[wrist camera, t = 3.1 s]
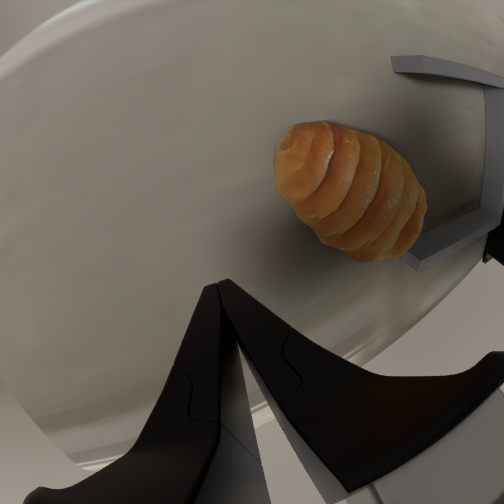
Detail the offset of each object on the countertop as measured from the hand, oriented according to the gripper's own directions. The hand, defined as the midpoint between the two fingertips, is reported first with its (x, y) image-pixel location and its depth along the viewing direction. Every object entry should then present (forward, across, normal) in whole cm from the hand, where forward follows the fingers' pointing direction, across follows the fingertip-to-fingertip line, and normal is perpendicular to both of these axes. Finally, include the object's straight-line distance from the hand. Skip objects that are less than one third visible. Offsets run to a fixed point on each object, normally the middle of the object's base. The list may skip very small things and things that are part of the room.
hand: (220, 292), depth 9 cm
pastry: (+6, -8, +1) cm, 10 cm away
